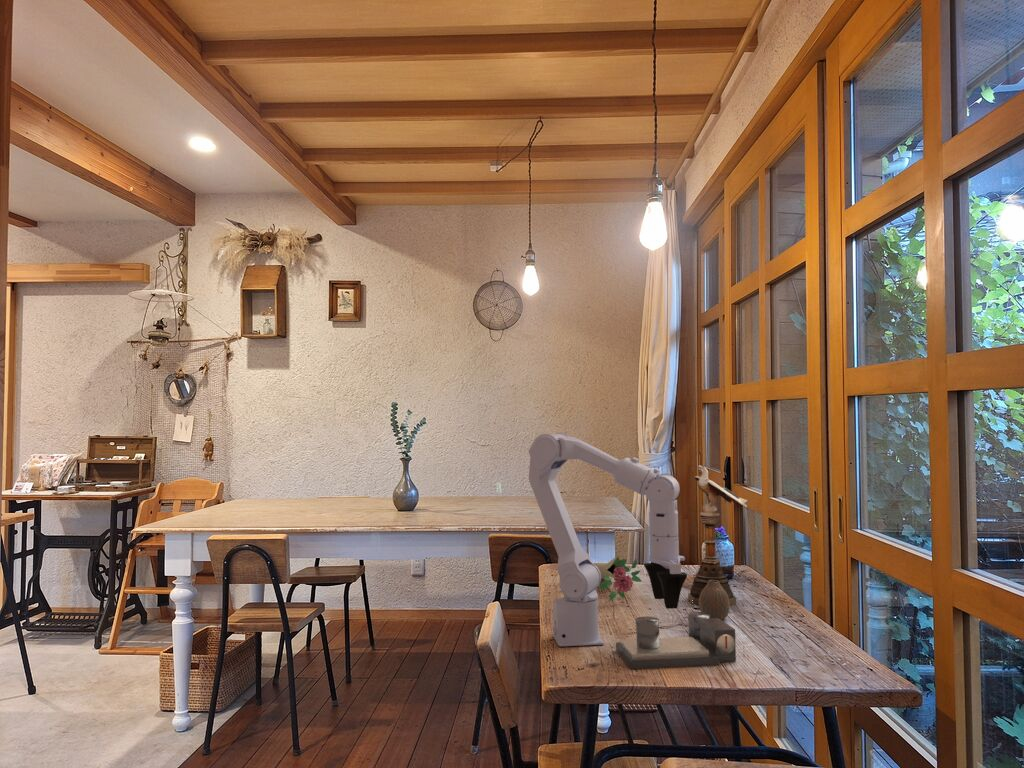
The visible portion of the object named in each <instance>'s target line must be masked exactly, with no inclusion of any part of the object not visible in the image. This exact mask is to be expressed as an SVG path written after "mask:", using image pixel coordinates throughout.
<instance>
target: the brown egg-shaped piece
mask: <svg viewBox="0 0 1024 768" xmlns="http://www.w3.org/2000/svg"><path fill="white" fill-rule="evenodd" d="M698 607H699V612H703V613H707V614H709V615H710V619H713V618H719V619H720V620H722V621H724V620H725V619H726V618H727V617H728V615H729V612H730V607H731V606H730V602H729V597H728V595H727V593H726V591H725V590H724V589H723V587H722V586H721V585H720V582H719V581H718V580H709V581H708V583H707V585H706V586H705V587H704V589H703V590H702V592H701V594H700V597H699V605H698Z"/></svg>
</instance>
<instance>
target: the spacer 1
mask: <svg viewBox="0 0 1024 768" xmlns="http://www.w3.org/2000/svg"><path fill="white" fill-rule="evenodd" d="M635 629H636V630H635V631H636V639H637V646H638V647H640V648H644V649H655V648H658V647H660V638H661V637H660V619H659V618H658V617H655V616H638V617H636V618H635Z"/></svg>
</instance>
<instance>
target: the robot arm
mask: <svg viewBox="0 0 1024 768" xmlns="http://www.w3.org/2000/svg"><path fill="white" fill-rule="evenodd" d="M528 454H529V457H530V459H529V471H528V481H529V485H530V487H531V488H532V491H533V494H534V497H535V499H536V502H537V505H538V508H539V510H540V512H541V513H540V514H541V515H542V517H543V520H544V522H545V526H546V528H547V531H548V533H549V535H550V538H551V541H552V543H553V547H554V549H555V551H556V553H557V557H558V560H557V567H556V569H557V571H558V576H559V582H558V583H559V589H560V591H561V593H562V595H563V597H559V598H554V599H553V603H552V636H553V638H554V640H555V642H556V643H557V646H558V647H574V646H575V647H576V646H577V647H579V646H600V645H602V646H603V645H604V644H605V642H604V640H603V639H602V638H601V636H600V635H599V594H598V593H597V589H598V588H599V587H600V585H601V582H602V580H601V573H600V571H599V569H598V568H597V566H596V565H595V564H594V562H593V561H592V558H590V555H589V554H588V552H586V550H584V549H583V548H582V546H581V543H580V541H579V538H578V536H577V533H576V530H575V528H574V525H573V522H572V520H571V518H570V515H569V512H568V509H567V507H566V505H565V503H564V500H563V498H562V495H561V494H562V493H561V492H560V490H559V486H558V485H557V482H556V477H558V473H559V472H560V469H561V468H562V466H564V464H565V463H566V462H567V461H568V460H580V461H582V462H585V463H587V464H589V465H592V466H594V467H596V468H598V469H600V470H602V471H605V472H606V473H609V474H612V476H613V479H614V482H615V483H616V484H618V485H620V486H623V487H625V488H627V489H629V490H631V491H633V492H636V493H637V494H639V495H641V496H645V498H646V499H647V501H648V502H649V503H648V504H649V507H648V508H649V512H648V519H649V520H648V523H649V526H648V528H649V529H648V530H649V555H648V559H649V560H648V561H649V562H647V563H644V564H643V565H644V566H643V567H644V568H645V570H646V572H647V575H648V577H649V581H650V586H651V589H652V594H653V598H654V599H655V600H663V602H664V606H665V609H667V610H668V609H669V610H670V609H671V610H673V609H678V606H679V601H680V596H681V592H682V588H683V585H684V584H685V581H686V580H687V577H688V573H687V572H685V571H684V572H683V571H682V564H681V561H682V562H683V561H686V558H685V556H683V555H680V549H679V548H680V545H679V543H680V542H679V540H680V539H679V511H678V499H677V498H678V496H679V494H680V491H681V487H680V483H679V482H678V480H677V479H676V478H675V477H674V476H672V475H671V474H670V473H660V472H661V469H659V468H657V467H655V468H654V469H653V468H651V467H650V466H646V465H645V464H643V463H640V462H639V461H640V459H639V458H637V457H631V458H630V457H625V458H622V459H618V458H616V457H614V456H612V455H610V454H609V453H607V452H605V451H602V450H601V449H599V448H597V447H595V446H593V445H592V444H589V443H587V442H585V441H583V440H582V439H579V438H577V437H575V436H574V437H573V436H569V435H567V434H566V433H563V432H557V433H554V434H553V433H541V434H540V435H538V436H536V438H534V440H533V442H532V444H531V446H530V448H529V449H528Z"/></svg>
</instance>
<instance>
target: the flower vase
mask: <svg viewBox="0 0 1024 768" xmlns="http://www.w3.org/2000/svg"><path fill="white" fill-rule="evenodd" d="M627 560H628V559H627V558H626V559H625V558H623V559H620V558H619V556H617V555H616V557H614V558H612V559H611V560H609V561H608V562H607V563H604V562H598V563H596V564H594V565H596V566H597V568H598V569H599V571H600V573H601V582H602V580H604V581H603V582H602V583H600V585H599V586H598V587H597V590H606V589H608V588H609V586H613V588H614V589H615V590H616V589H617V593H618V595H619V596H620V597H621V598H622V599H625V594H626V593H627V592H631V590H632V589H631V588H633V583H634V582H637V583H639V582H642V579H641V578H640V577H639V576H637V575H638V574H640V572H642V571H641V570H636V571H632V572H631V570H632V569H636V567H637V565H638V564H637V563H638V561H637V558H635V559H634V561H633V563H632V564H631V567H630V568H629V567H628V566H626V563H627ZM629 572H631V573H630V574H627V573H629ZM630 575H631V576H632V577H631V576H630ZM612 578H613V580H614V581H613V582H612ZM612 584H613V585H612ZM617 593H616V591H611V593H610V595H609V602H610V601H612V600H614V599H615V598H616V597H617V596H618V595H617Z"/></svg>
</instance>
